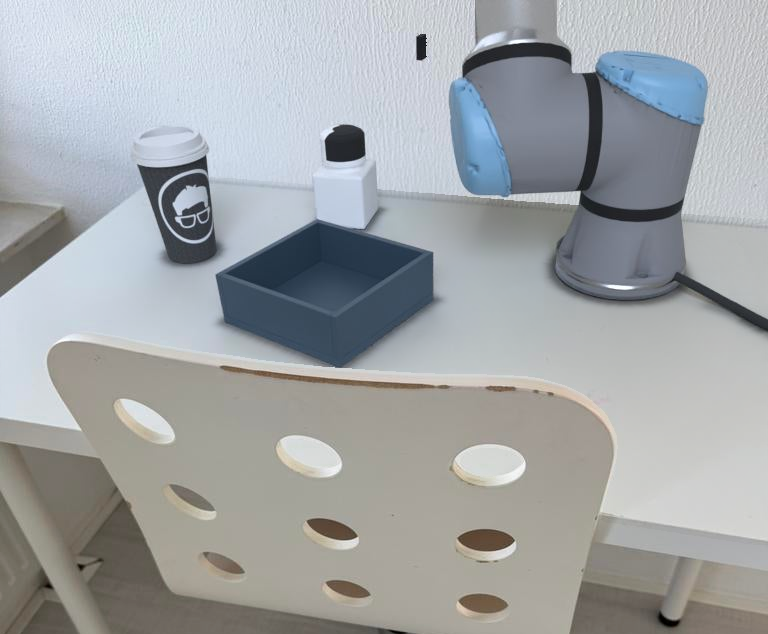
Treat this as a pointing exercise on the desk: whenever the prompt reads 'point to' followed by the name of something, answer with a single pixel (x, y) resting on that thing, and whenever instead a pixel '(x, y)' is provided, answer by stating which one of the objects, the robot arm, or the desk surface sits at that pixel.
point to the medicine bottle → (345, 179)
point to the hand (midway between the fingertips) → (372, 44)
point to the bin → (327, 290)
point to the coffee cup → (178, 189)
